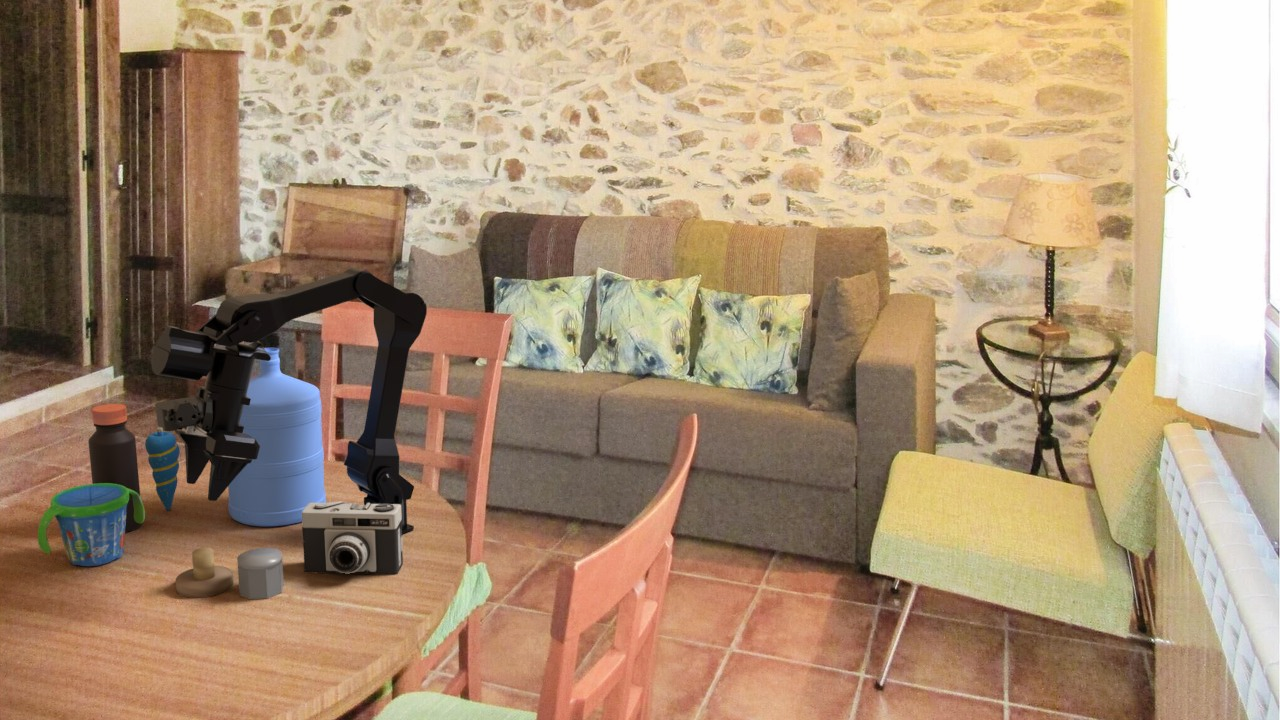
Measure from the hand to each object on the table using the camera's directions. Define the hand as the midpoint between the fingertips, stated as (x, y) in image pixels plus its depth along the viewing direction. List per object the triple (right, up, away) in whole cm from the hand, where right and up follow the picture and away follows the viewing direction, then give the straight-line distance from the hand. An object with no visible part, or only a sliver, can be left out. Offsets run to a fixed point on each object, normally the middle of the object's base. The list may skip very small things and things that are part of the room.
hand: (201, 491), depth 158 cm
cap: (+9, -14, 0) cm, 16 cm away
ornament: (-17, -7, +29) cm, 35 cm away
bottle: (-22, -8, +22) cm, 32 cm away
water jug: (+1, -7, +30) cm, 31 cm away
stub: (0, -14, +1) cm, 14 cm away
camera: (+20, -13, +6) cm, 24 cm away
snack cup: (-20, -11, +10) cm, 25 cm away
